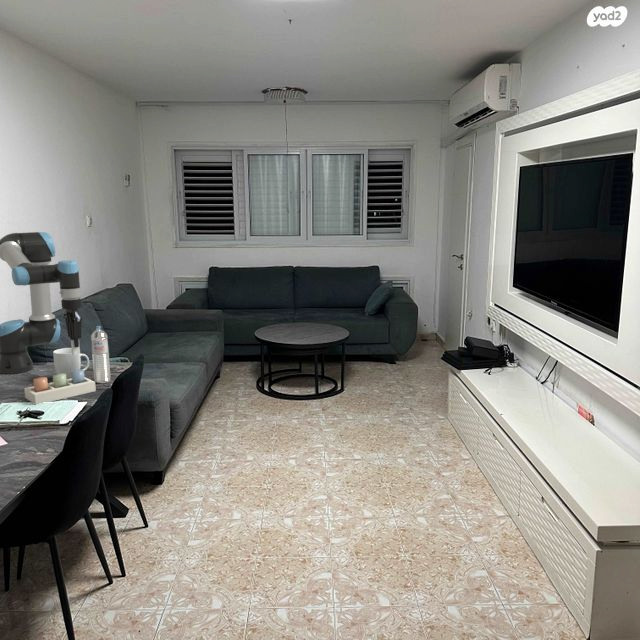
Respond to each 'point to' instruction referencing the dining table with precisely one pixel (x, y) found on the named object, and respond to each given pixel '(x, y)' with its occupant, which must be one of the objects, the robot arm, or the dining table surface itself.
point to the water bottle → (100, 356)
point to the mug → (67, 361)
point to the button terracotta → (40, 384)
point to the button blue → (77, 376)
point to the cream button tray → (59, 391)
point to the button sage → (59, 380)
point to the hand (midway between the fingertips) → (76, 354)
